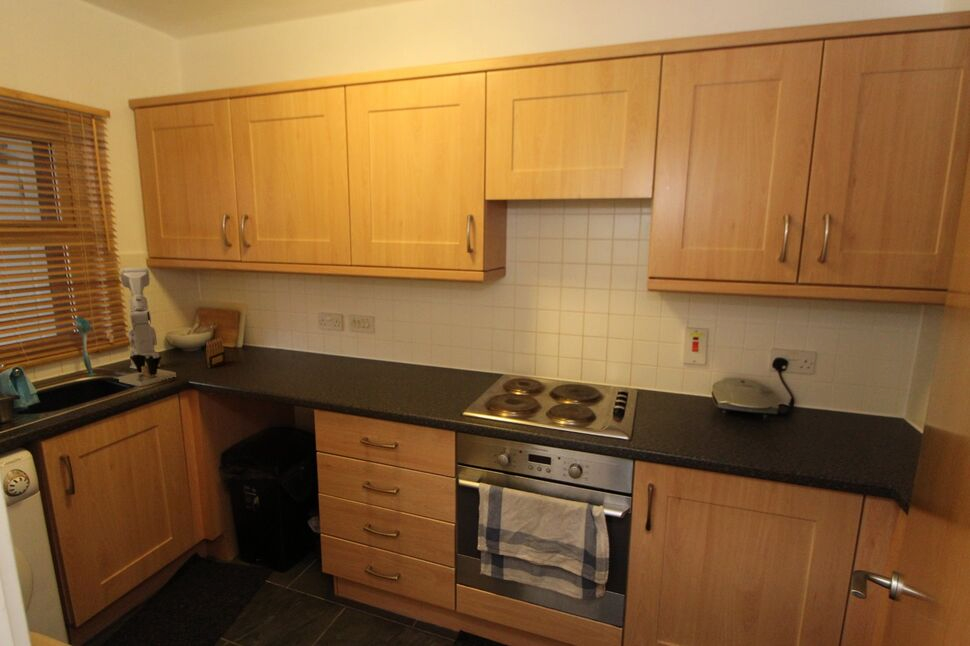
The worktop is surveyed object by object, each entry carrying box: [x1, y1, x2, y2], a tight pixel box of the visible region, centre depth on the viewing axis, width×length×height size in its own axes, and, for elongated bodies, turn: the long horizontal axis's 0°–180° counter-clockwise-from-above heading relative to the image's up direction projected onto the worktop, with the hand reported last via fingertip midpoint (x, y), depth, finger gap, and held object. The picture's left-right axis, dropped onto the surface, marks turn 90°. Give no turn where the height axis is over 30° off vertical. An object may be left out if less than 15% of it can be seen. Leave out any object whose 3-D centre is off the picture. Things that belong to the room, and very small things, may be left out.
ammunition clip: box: [205, 336, 227, 369], centre depth 223 cm, size 11×2×12 cm, turn 172°
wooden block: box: [141, 365, 155, 377], centre depth 202 cm, size 3×3×6 cm
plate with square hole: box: [118, 368, 177, 387], centre depth 202 cm, size 14×14×2 cm
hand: (147, 373), depth 202 cm, fingers open, 7 cm apart
